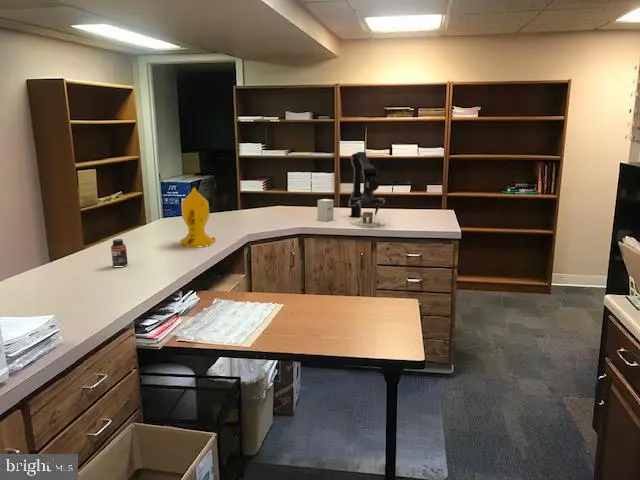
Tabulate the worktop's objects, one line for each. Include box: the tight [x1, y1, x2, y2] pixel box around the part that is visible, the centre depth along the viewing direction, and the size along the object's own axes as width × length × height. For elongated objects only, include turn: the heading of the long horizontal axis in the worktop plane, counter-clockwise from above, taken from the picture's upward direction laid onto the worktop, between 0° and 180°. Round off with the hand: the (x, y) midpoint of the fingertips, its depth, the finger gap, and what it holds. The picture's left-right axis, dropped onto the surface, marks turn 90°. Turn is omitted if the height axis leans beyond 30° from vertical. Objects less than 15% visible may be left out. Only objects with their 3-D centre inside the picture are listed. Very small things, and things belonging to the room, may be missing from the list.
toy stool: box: [362, 211, 374, 224], centre depth 306 cm, size 5×5×6 cm
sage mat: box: [354, 219, 381, 228], centre depth 307 cm, size 12×12×1 cm
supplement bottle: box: [110, 238, 129, 267], centre depth 218 cm, size 6×6×11 cm
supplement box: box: [316, 198, 334, 222], centre depth 319 cm, size 7×7×13 cm
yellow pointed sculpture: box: [179, 187, 217, 247], centre depth 256 cm, size 18×24×28 cm
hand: (367, 214), depth 306 cm, fingers open, 9 cm apart
